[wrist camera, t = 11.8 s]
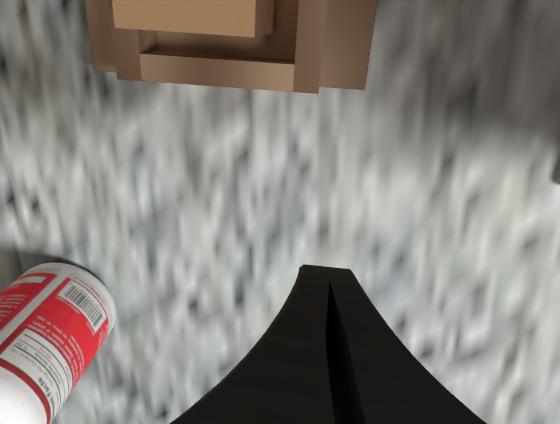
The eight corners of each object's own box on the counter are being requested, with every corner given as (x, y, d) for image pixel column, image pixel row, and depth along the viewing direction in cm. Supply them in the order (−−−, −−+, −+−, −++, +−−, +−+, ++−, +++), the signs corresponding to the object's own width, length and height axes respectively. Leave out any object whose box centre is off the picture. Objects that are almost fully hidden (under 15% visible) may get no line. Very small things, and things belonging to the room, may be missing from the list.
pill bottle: (18, 319, 26) (-168, 503, 16) (26, 243, 23) (-189, 407, 13) (110, 350, 27) (-14, 547, 17) (129, 280, 24) (-5, 463, 14)
